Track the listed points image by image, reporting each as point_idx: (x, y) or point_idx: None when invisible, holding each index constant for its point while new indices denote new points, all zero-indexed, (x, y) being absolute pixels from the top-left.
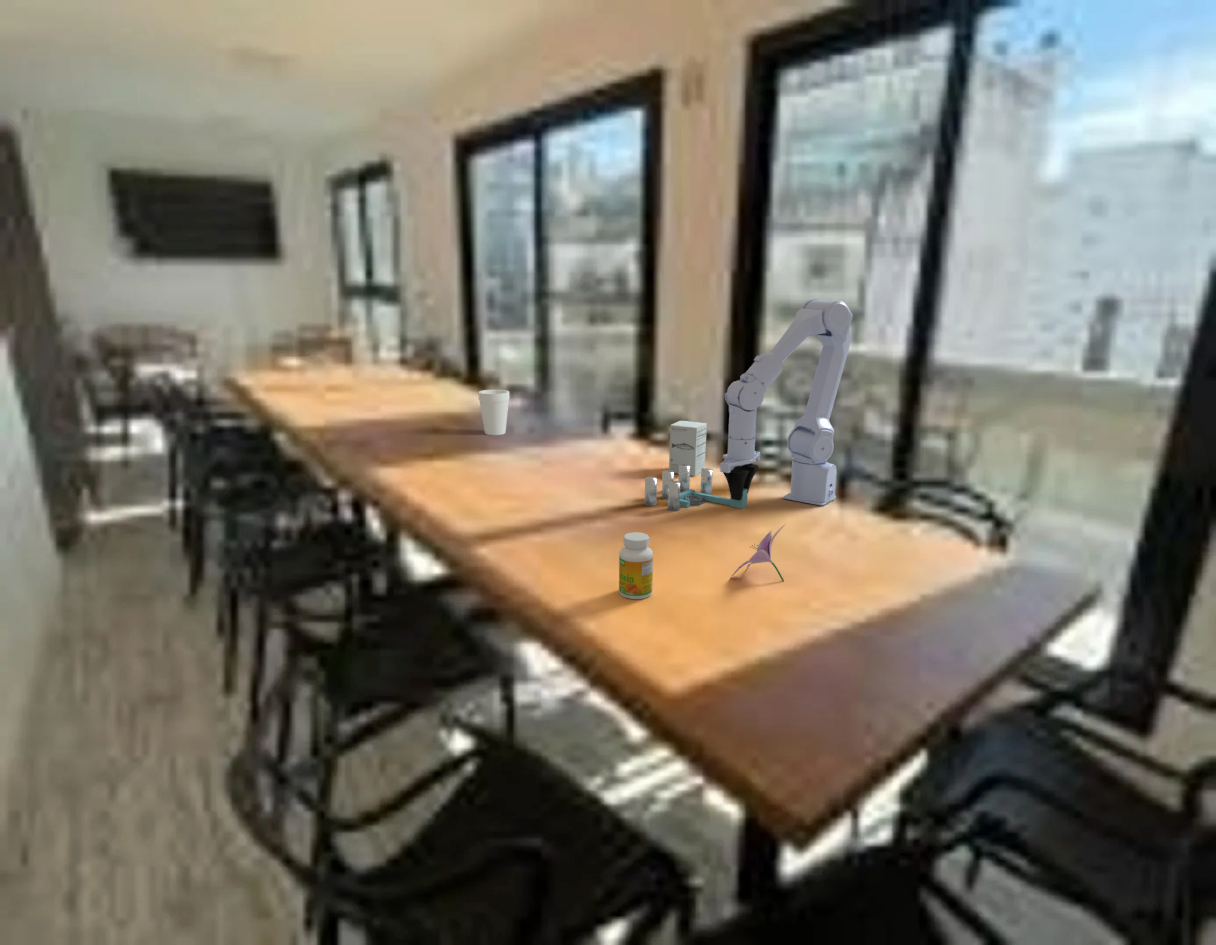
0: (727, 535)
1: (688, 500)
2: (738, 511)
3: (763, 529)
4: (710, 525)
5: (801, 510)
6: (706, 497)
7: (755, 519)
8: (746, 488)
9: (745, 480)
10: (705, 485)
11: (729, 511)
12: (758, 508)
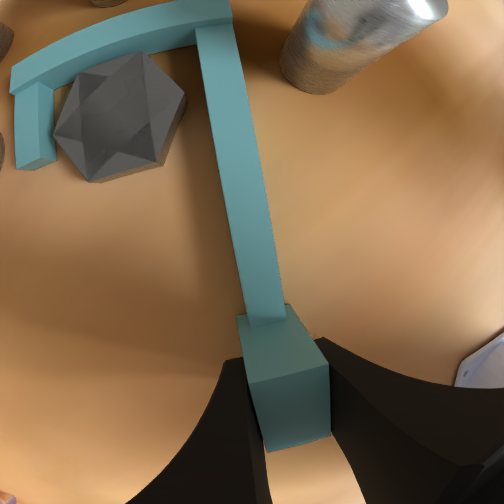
0: (24, 453)
1: (57, 129)
2: (198, 392)
3: None
4: (7, 396)
5: None
6: (212, 132)
7: None
8: (333, 429)
9: (360, 460)
10: (306, 42)
11: (160, 368)
12: None
